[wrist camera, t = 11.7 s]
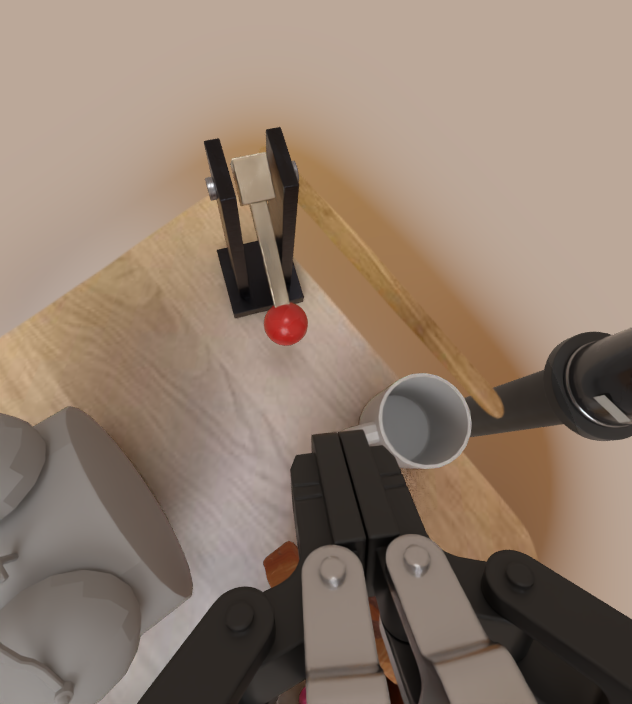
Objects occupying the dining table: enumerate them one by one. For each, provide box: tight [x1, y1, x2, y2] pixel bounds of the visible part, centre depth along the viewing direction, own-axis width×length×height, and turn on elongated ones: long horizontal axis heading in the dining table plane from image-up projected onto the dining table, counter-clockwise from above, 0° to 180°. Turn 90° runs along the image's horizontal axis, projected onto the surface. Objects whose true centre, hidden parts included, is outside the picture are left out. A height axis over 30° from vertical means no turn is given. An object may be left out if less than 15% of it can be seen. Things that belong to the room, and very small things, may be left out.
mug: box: [263, 541, 404, 704], centre depth 31 cm, size 15×8×15 cm, turn 35°
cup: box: [343, 373, 471, 469], centre depth 38 cm, size 7×10×9 cm
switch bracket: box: [204, 127, 304, 318], centre depth 36 cm, size 7×7×18 cm
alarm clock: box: [0, 406, 193, 704], centre depth 28 cm, size 16×9×22 cm, turn 36°
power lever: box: [230, 152, 308, 346], centre depth 31 cm, size 13×3×3 cm, turn 17°
